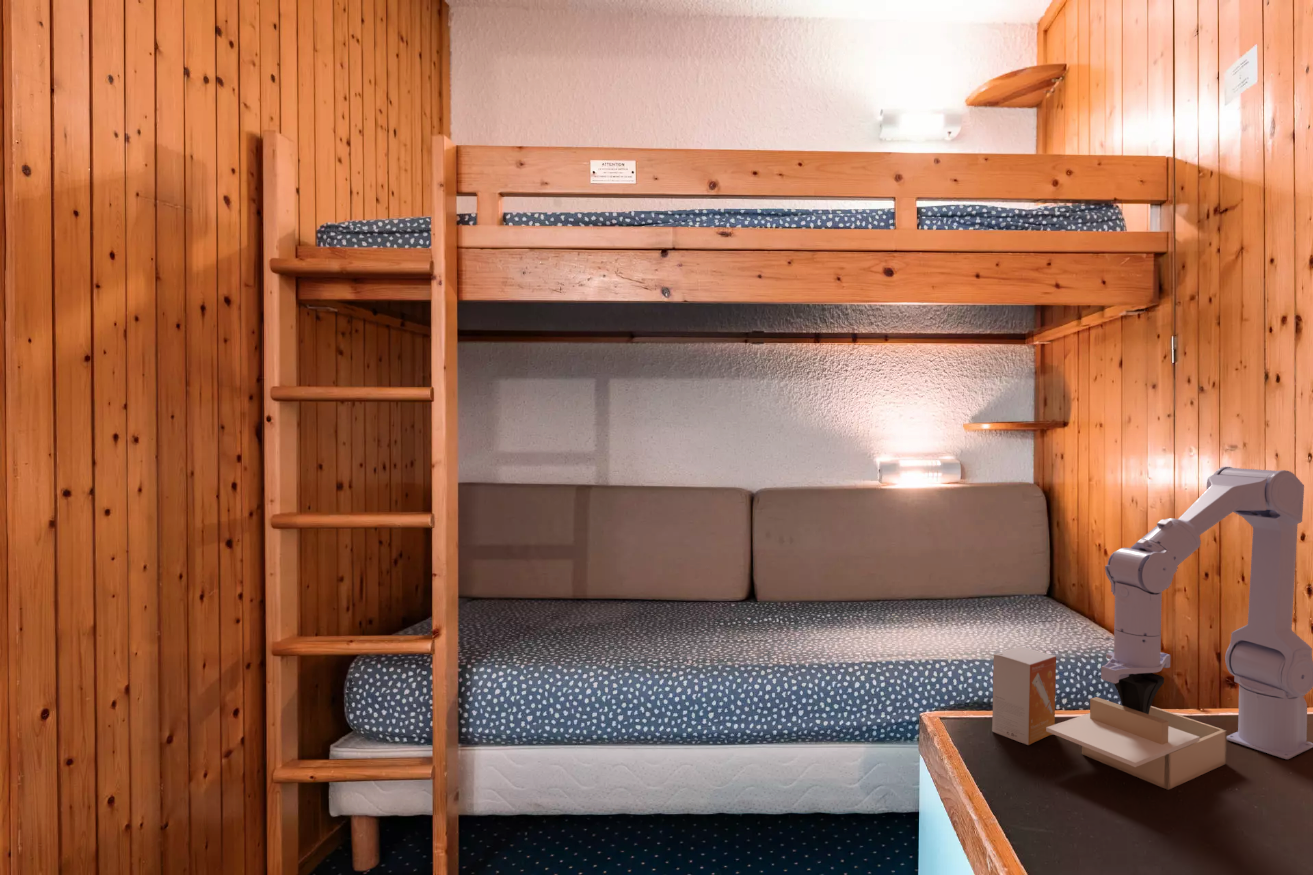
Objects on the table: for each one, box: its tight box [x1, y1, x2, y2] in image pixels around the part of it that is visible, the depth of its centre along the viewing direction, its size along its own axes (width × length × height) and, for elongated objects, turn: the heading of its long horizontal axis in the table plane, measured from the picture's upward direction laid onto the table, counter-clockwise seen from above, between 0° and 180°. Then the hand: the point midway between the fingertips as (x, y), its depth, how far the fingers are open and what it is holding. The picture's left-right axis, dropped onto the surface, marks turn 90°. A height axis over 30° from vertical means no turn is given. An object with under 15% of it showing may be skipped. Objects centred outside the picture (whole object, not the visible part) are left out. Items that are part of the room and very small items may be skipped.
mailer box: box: [1081, 705, 1228, 791], centre depth 108 cm, size 16×12×5 cm
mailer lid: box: [1046, 696, 1200, 767], centre depth 104 cm, size 16×12×4 cm
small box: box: [991, 645, 1057, 746], centre depth 117 cm, size 8×6×13 cm
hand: (1135, 721), depth 106 cm, fingers closed
